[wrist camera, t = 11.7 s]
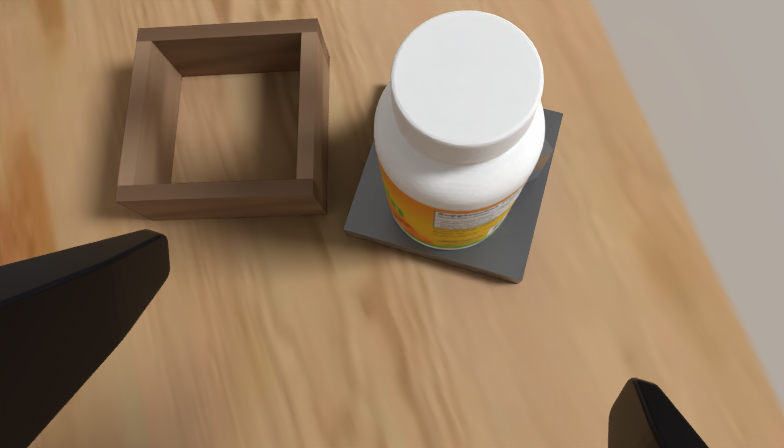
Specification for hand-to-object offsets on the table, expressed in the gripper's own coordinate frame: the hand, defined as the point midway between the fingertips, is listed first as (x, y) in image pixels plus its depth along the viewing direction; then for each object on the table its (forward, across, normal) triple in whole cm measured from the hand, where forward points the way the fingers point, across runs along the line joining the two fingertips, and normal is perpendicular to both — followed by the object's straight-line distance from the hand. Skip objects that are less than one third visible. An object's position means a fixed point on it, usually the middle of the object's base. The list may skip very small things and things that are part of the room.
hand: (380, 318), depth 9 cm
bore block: (+14, +10, +4) cm, 18 cm away
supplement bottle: (+13, 0, +4) cm, 14 cm away
